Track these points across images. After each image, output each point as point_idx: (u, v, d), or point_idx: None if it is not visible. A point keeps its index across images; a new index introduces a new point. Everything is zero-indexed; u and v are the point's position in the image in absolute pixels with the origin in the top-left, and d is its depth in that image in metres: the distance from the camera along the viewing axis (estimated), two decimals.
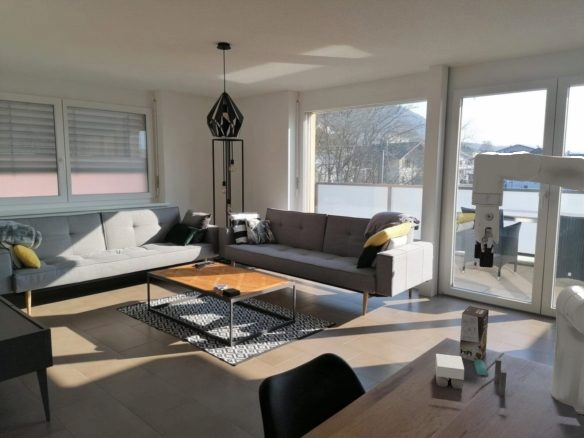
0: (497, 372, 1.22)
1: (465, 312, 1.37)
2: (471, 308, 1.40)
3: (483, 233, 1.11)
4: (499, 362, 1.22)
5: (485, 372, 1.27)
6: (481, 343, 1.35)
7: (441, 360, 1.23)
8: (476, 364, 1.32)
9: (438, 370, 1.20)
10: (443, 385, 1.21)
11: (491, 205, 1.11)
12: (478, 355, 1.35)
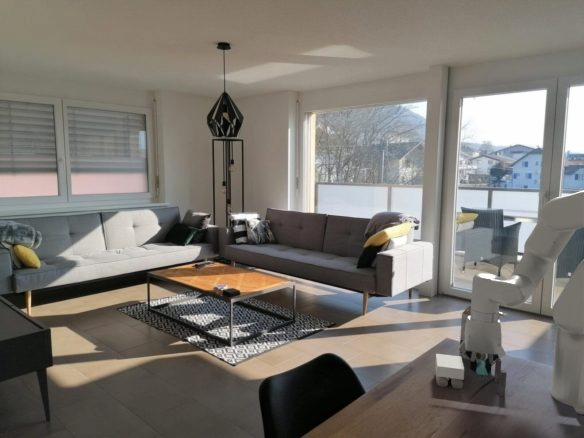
0: (497, 372, 1.22)
1: (465, 312, 1.37)
2: None
3: None
4: (499, 362, 1.22)
5: (485, 372, 1.27)
6: None
7: (441, 360, 1.23)
8: None
9: (438, 370, 1.20)
10: (443, 385, 1.21)
11: None
12: (478, 355, 1.35)
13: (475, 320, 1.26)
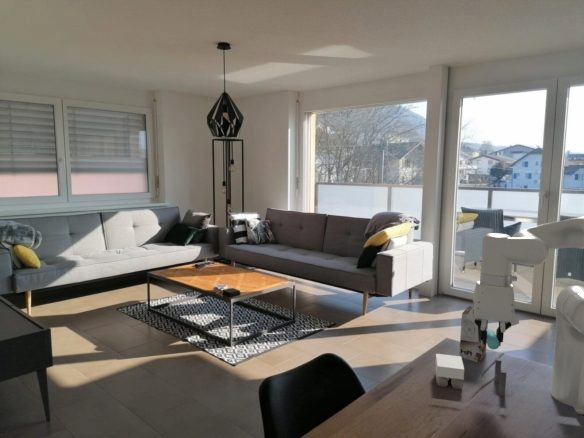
0: (497, 372, 1.22)
1: (465, 312, 1.37)
2: (471, 308, 1.40)
3: None
4: (499, 362, 1.22)
5: (496, 341, 1.15)
6: (481, 343, 1.35)
7: (441, 360, 1.23)
8: None
9: (438, 370, 1.20)
10: (443, 385, 1.21)
11: None
12: (478, 355, 1.35)
13: (485, 284, 1.15)
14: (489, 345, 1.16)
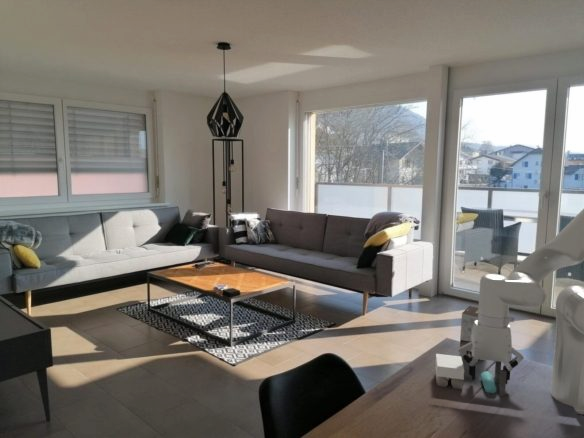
0: (497, 372, 1.22)
1: (465, 312, 1.37)
2: (471, 308, 1.40)
3: None
4: (499, 362, 1.22)
5: (493, 386, 1.17)
6: None
7: (441, 360, 1.23)
8: (483, 377, 1.22)
9: (438, 370, 1.20)
10: (443, 385, 1.21)
11: None
12: None
13: (483, 325, 1.16)
14: (486, 390, 1.18)
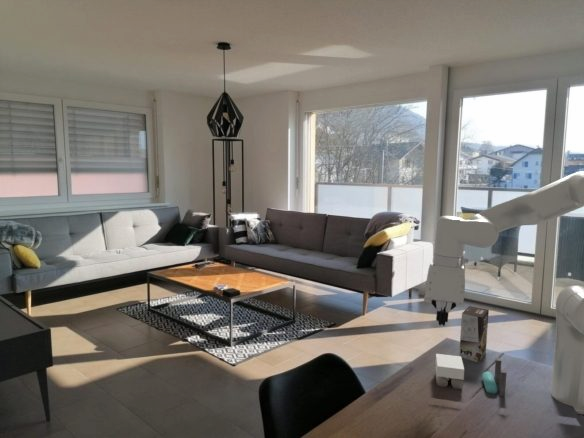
0: (497, 372, 1.22)
1: (465, 312, 1.37)
2: (471, 308, 1.40)
3: None
4: (499, 362, 1.22)
5: (495, 387, 1.17)
6: (481, 343, 1.35)
7: (441, 360, 1.23)
8: (485, 376, 1.22)
9: (438, 370, 1.20)
10: (443, 385, 1.21)
11: None
12: (478, 355, 1.35)
13: (437, 265, 1.17)
14: (487, 389, 1.17)
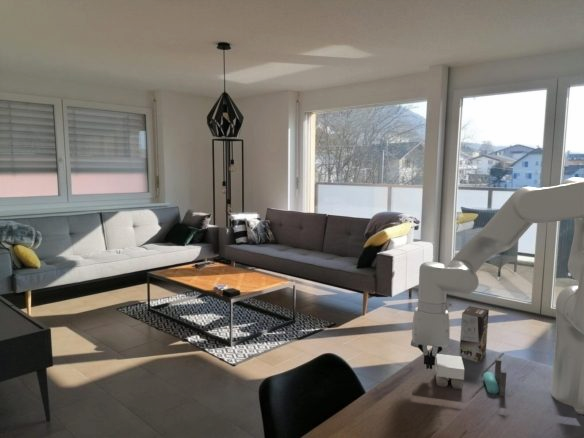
0: (497, 372, 1.22)
1: (465, 312, 1.37)
2: (471, 308, 1.40)
3: (449, 337, 1.21)
4: (499, 362, 1.22)
5: (497, 388, 1.17)
6: (481, 343, 1.35)
7: (441, 360, 1.23)
8: (488, 376, 1.21)
9: (438, 370, 1.20)
10: (443, 385, 1.21)
11: None
12: (478, 355, 1.35)
13: (421, 311, 1.20)
14: (488, 388, 1.17)
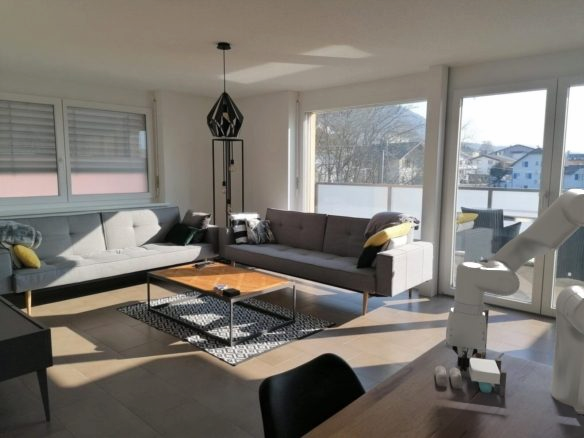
0: None
1: None
2: None
3: (485, 339, 1.18)
4: (499, 362, 1.22)
5: (485, 384, 1.17)
6: None
7: (475, 365, 1.20)
8: None
9: (473, 374, 1.17)
10: (443, 385, 1.21)
11: None
12: (478, 355, 1.35)
13: (458, 312, 1.18)
14: (484, 391, 1.18)
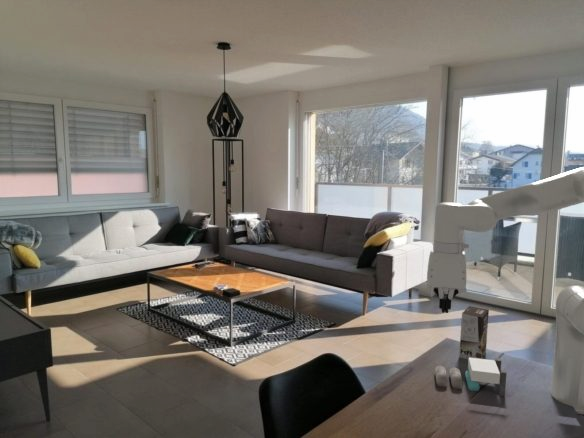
0: None
1: (465, 312, 1.37)
2: (471, 308, 1.40)
3: None
4: (499, 362, 1.22)
5: (469, 388, 1.19)
6: (481, 343, 1.35)
7: (475, 364, 1.20)
8: None
9: (473, 374, 1.17)
10: (443, 385, 1.21)
11: (461, 251, 1.18)
12: (478, 355, 1.35)
13: (438, 252, 1.17)
14: (477, 386, 1.18)
